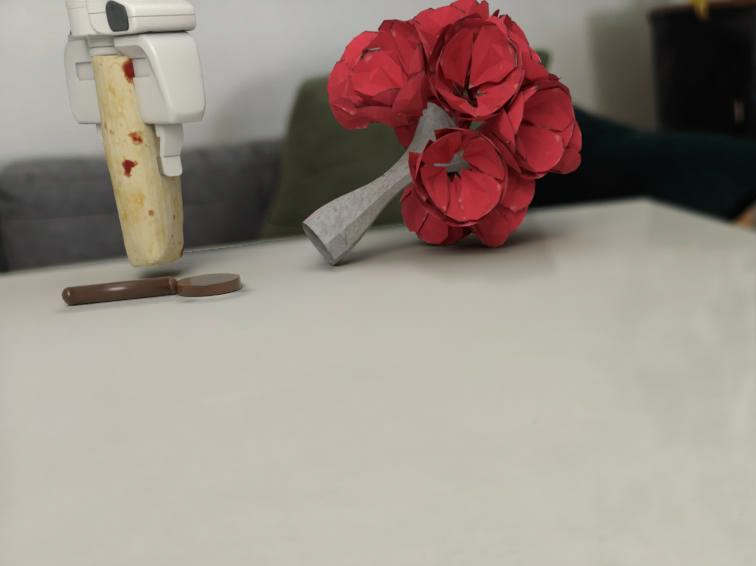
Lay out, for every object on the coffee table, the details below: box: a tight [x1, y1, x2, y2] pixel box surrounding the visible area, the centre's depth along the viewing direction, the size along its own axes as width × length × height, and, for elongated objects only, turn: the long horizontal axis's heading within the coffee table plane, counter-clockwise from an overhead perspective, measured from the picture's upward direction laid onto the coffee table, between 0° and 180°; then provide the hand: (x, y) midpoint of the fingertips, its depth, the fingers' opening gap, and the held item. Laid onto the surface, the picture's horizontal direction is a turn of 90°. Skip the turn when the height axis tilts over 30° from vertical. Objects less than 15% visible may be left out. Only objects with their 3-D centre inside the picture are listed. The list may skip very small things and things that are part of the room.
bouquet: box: [301, 0, 583, 266], centre depth 114 cm, size 22×24×30 cm
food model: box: [91, 53, 185, 268], centre depth 110 cm, size 10×7×20 cm
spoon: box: [61, 272, 242, 306], centre depth 105 cm, size 16×6×2 cm, turn 104°
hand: (146, 174), depth 111 cm, fingers closed on food model, 8 cm apart
